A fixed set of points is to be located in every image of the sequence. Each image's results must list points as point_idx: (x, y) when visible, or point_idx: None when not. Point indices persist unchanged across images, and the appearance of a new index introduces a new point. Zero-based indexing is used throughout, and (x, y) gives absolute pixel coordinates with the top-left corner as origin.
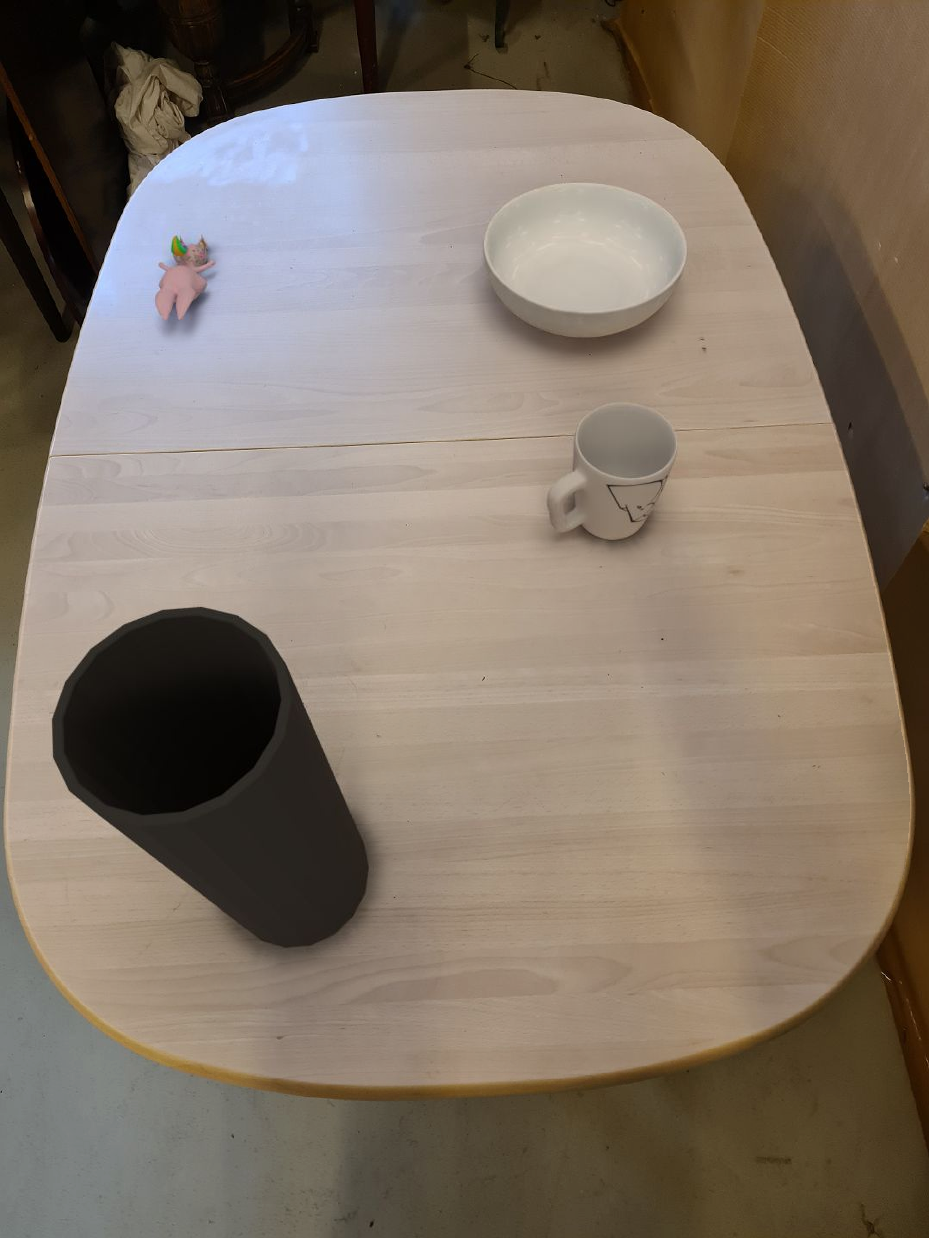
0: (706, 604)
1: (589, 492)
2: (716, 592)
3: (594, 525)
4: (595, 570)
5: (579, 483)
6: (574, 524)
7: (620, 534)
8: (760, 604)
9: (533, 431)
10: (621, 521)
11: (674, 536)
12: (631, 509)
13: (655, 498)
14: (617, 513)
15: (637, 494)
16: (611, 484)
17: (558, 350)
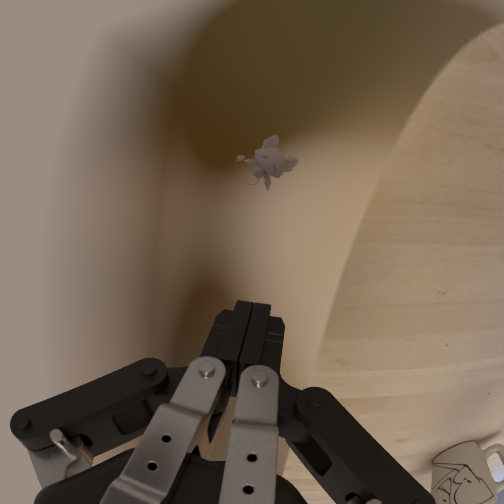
0: (439, 420)
1: (493, 481)
2: (426, 428)
3: (480, 452)
4: (490, 424)
5: (501, 487)
6: (491, 450)
7: (466, 449)
8: (397, 425)
9: None
10: (474, 465)
11: (426, 450)
12: (474, 479)
13: (454, 487)
14: (480, 472)
15: (476, 494)
16: (492, 497)
17: None
